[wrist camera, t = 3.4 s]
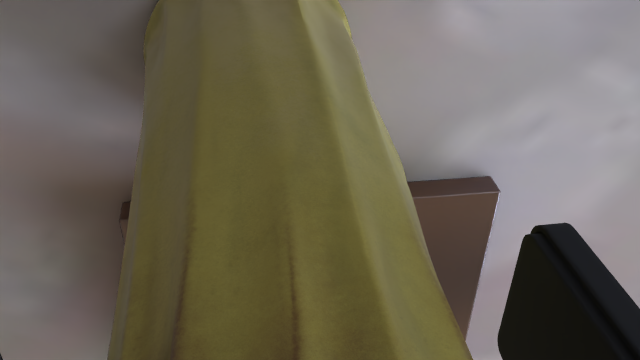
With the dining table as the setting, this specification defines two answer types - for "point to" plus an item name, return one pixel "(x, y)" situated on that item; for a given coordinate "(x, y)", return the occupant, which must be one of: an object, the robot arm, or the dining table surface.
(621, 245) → the dining table surface
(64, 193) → the dining table surface
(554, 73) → the dining table surface
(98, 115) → the dining table surface
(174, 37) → the vase
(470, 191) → the serving board
